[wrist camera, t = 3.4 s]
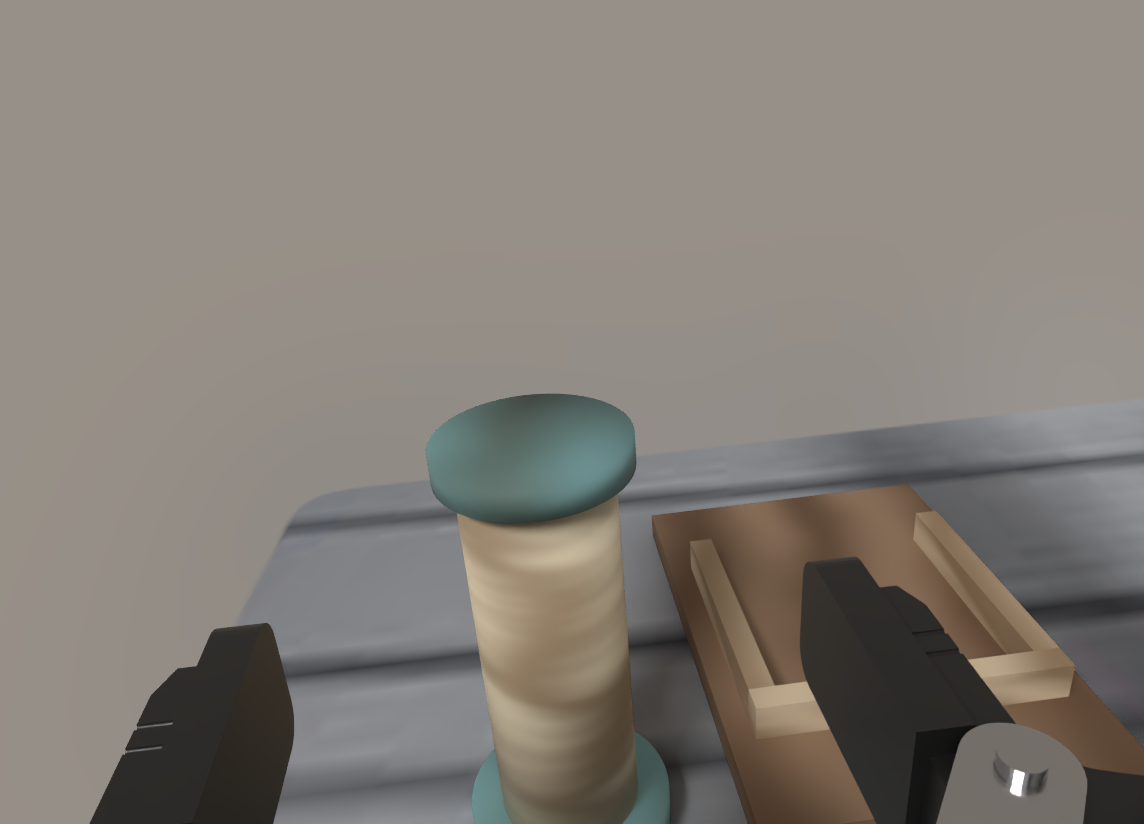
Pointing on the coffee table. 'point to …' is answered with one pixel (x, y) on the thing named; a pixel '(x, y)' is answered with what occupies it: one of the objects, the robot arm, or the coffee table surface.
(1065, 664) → the brown wooden tray
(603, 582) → the bobbin
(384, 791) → the coffee table surface
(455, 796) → the coffee table surface
